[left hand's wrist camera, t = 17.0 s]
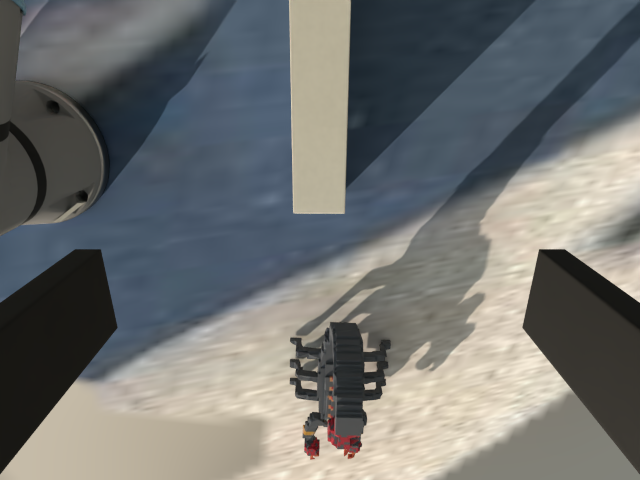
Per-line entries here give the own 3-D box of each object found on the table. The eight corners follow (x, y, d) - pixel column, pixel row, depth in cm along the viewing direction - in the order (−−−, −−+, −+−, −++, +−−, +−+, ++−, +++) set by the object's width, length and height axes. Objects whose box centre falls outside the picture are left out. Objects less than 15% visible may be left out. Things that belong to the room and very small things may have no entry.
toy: (397, 280, 52) (434, 380, 35) (378, 439, 62) (401, 577, 45) (291, 277, 52) (276, 376, 35) (289, 437, 62) (278, 574, 45)
